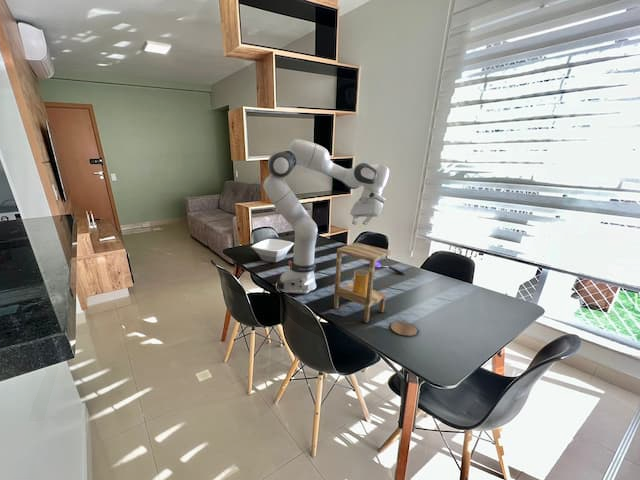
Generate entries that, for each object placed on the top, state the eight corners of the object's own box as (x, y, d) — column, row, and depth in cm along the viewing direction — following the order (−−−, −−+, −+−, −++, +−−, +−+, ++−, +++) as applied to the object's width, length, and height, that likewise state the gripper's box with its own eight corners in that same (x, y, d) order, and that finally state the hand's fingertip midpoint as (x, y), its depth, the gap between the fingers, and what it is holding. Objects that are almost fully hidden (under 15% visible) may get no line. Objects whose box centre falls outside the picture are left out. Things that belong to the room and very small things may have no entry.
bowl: (296, 256, 207) (296, 242, 203) (277, 267, 187) (277, 252, 183) (269, 250, 219) (268, 237, 215) (248, 260, 199) (247, 246, 196)
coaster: (397, 336, 114) (397, 336, 114) (386, 323, 124) (386, 322, 123) (421, 335, 115) (421, 334, 115) (409, 322, 124) (409, 321, 124)
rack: (366, 323, 124) (373, 258, 113) (333, 307, 137) (337, 248, 125) (383, 311, 133) (391, 250, 122) (351, 298, 145) (355, 242, 134)
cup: (355, 296, 128) (356, 275, 124) (350, 289, 134) (352, 269, 130) (369, 295, 128) (371, 274, 125) (364, 289, 134) (366, 269, 131)
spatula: (406, 273, 174) (407, 269, 173) (400, 276, 170) (401, 272, 169) (373, 262, 191) (373, 259, 191) (366, 265, 188) (367, 261, 187)
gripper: (353, 196, 149) (343, 221, 149) (377, 193, 130) (365, 222, 130) (363, 201, 151) (352, 226, 152) (388, 199, 132) (376, 227, 132)
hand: (359, 224), depth 141 cm, fingers open, 8 cm apart
